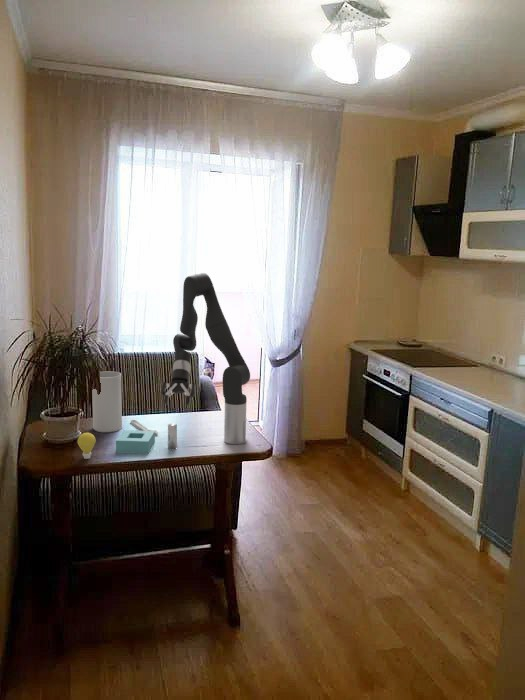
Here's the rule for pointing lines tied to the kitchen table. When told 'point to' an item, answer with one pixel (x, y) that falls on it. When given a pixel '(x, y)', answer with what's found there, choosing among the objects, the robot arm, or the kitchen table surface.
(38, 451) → the kitchen table surface
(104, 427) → the cylinder vase
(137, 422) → the adjustable wrench
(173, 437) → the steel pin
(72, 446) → the kitchen table surface
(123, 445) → the socket block
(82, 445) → the light bulb
